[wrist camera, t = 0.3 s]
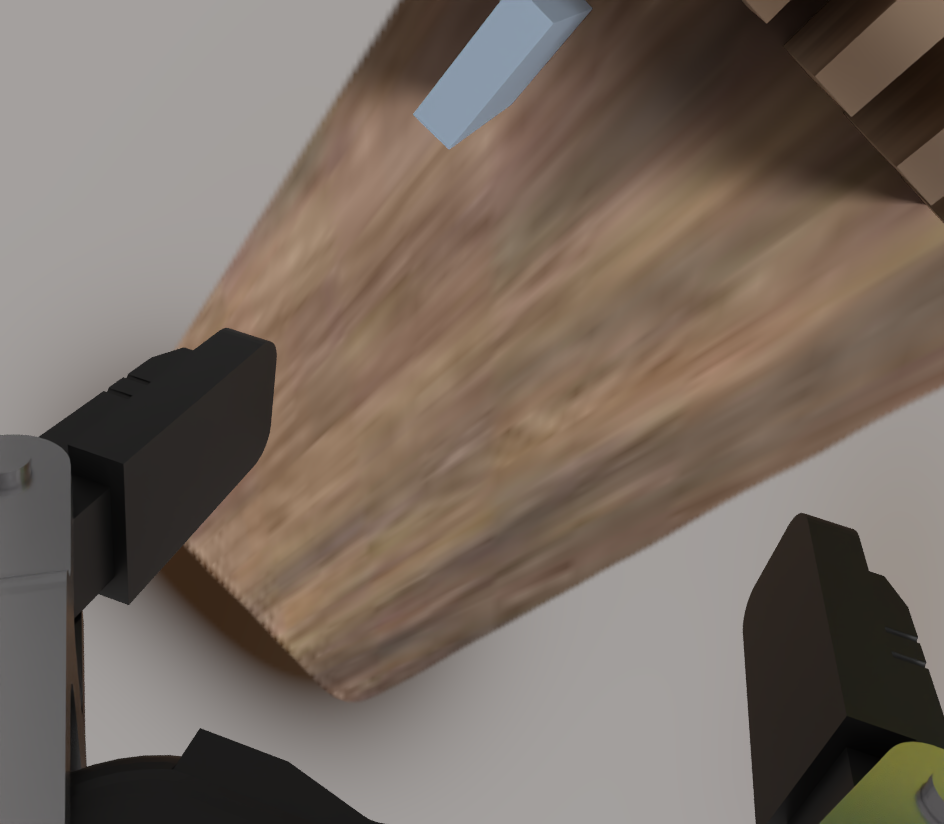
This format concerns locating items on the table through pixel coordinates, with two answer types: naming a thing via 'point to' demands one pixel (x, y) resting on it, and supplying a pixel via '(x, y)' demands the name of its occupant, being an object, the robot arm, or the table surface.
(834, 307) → the table surface
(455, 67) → the blue tile
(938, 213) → the tile
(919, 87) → the tile
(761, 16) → the tile
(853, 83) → the tile
